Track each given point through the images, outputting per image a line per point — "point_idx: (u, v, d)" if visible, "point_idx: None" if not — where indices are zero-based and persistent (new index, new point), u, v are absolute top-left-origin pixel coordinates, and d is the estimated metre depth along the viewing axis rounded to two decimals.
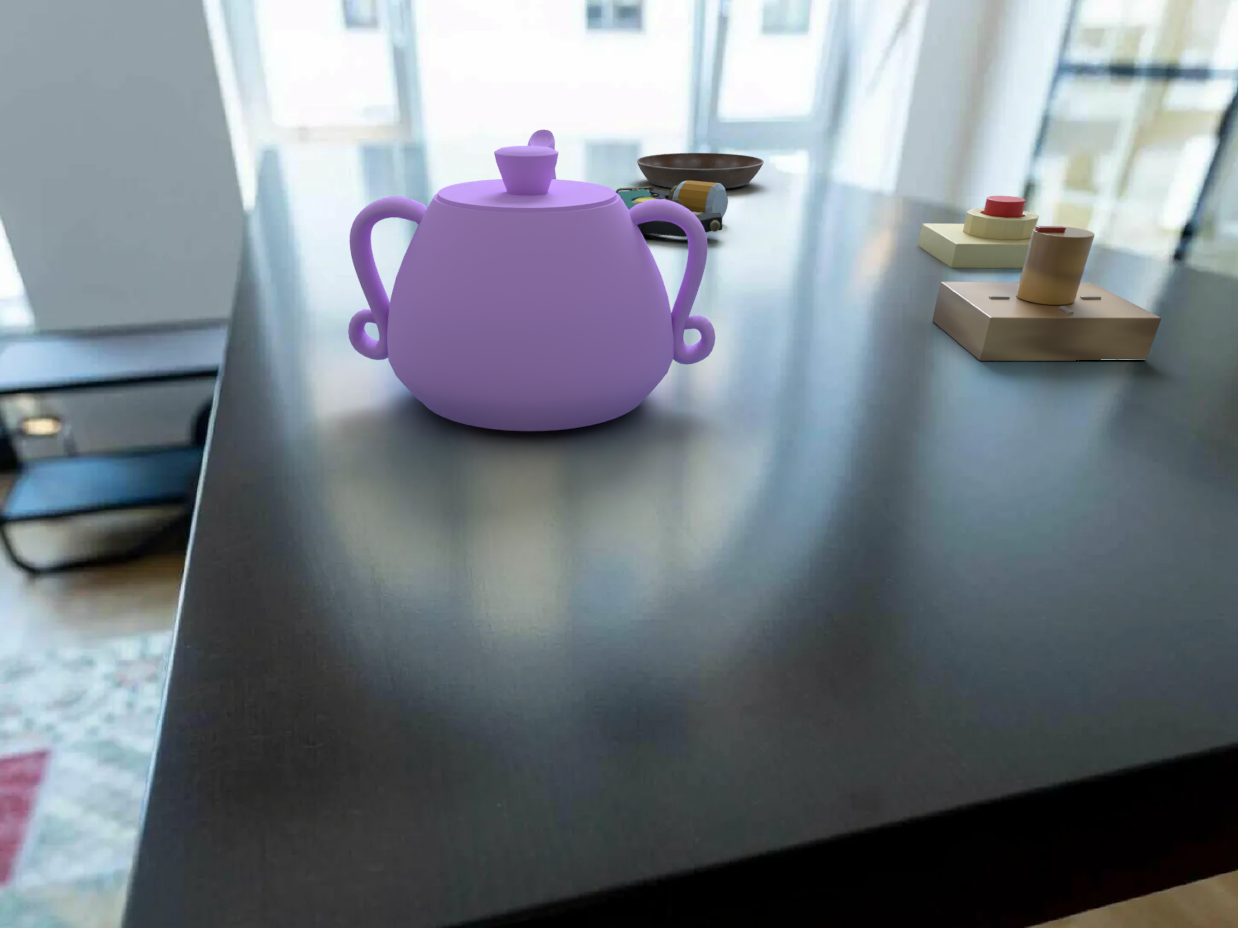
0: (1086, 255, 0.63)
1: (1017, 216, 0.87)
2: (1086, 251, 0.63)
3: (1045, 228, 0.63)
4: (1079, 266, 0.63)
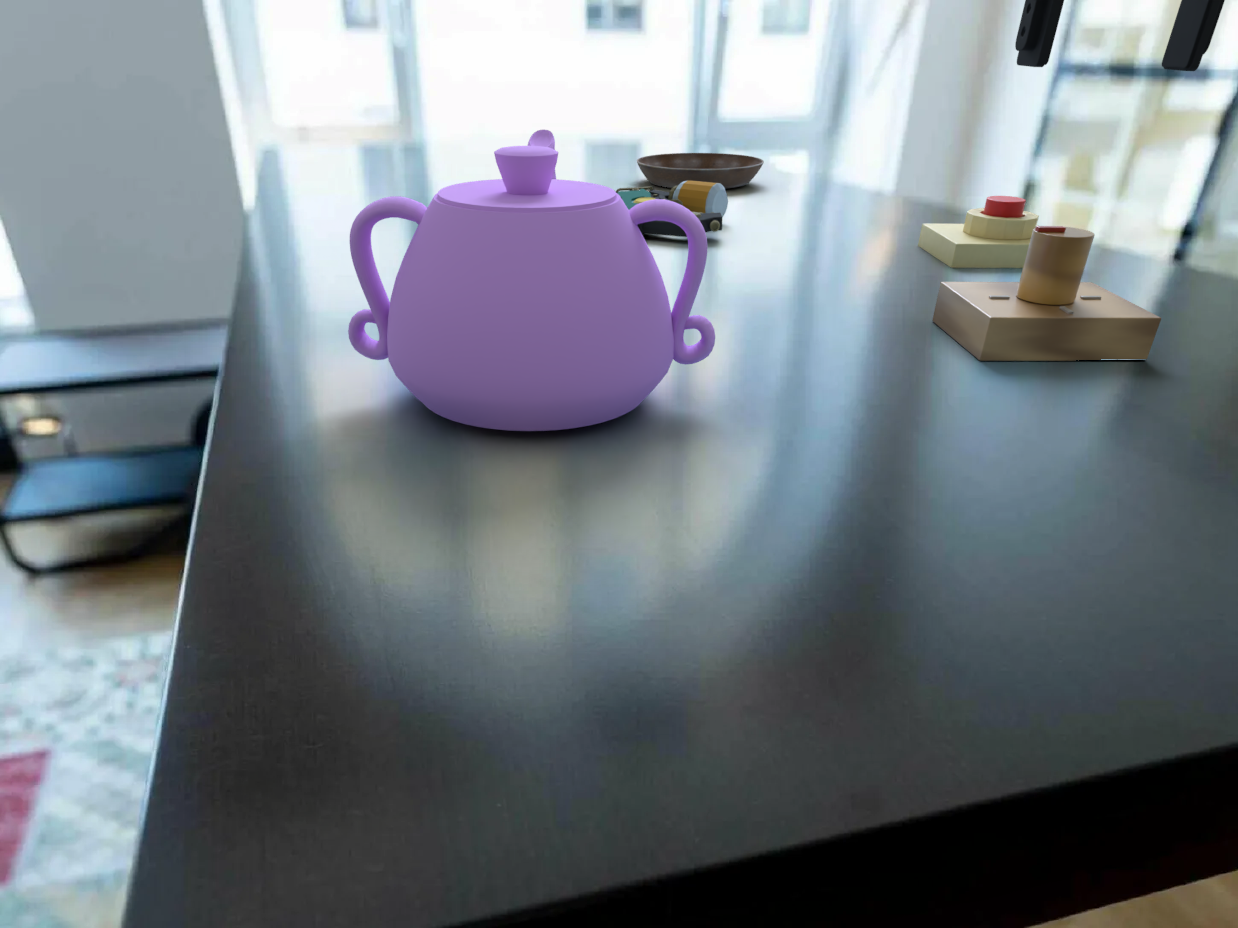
0: (1086, 255, 0.63)
1: (1017, 216, 0.87)
2: (1086, 251, 0.63)
3: (1045, 228, 0.63)
4: (1079, 266, 0.63)
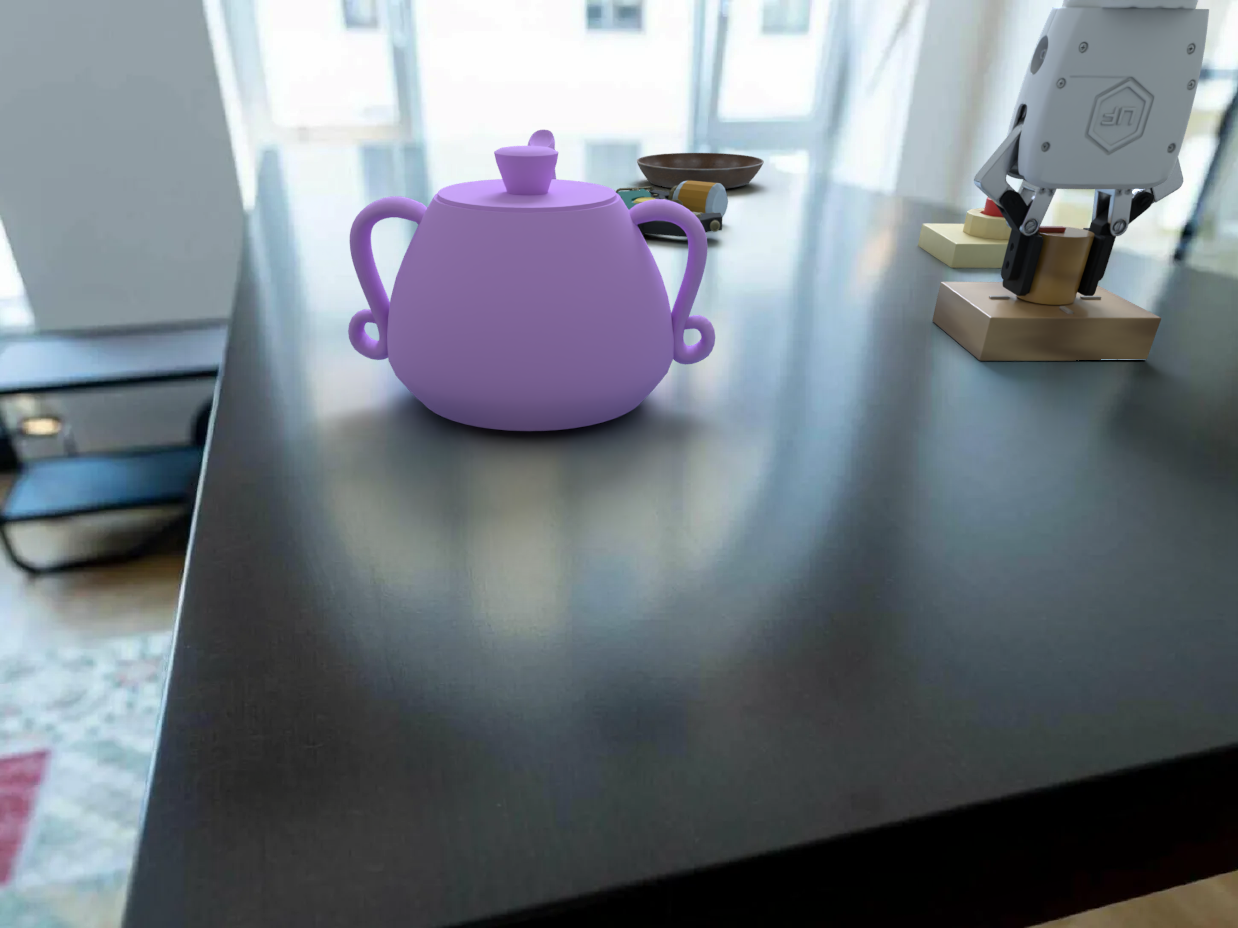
0: (1086, 255, 0.63)
1: None
2: (1086, 251, 0.63)
3: (1045, 228, 0.63)
4: (1079, 266, 0.63)
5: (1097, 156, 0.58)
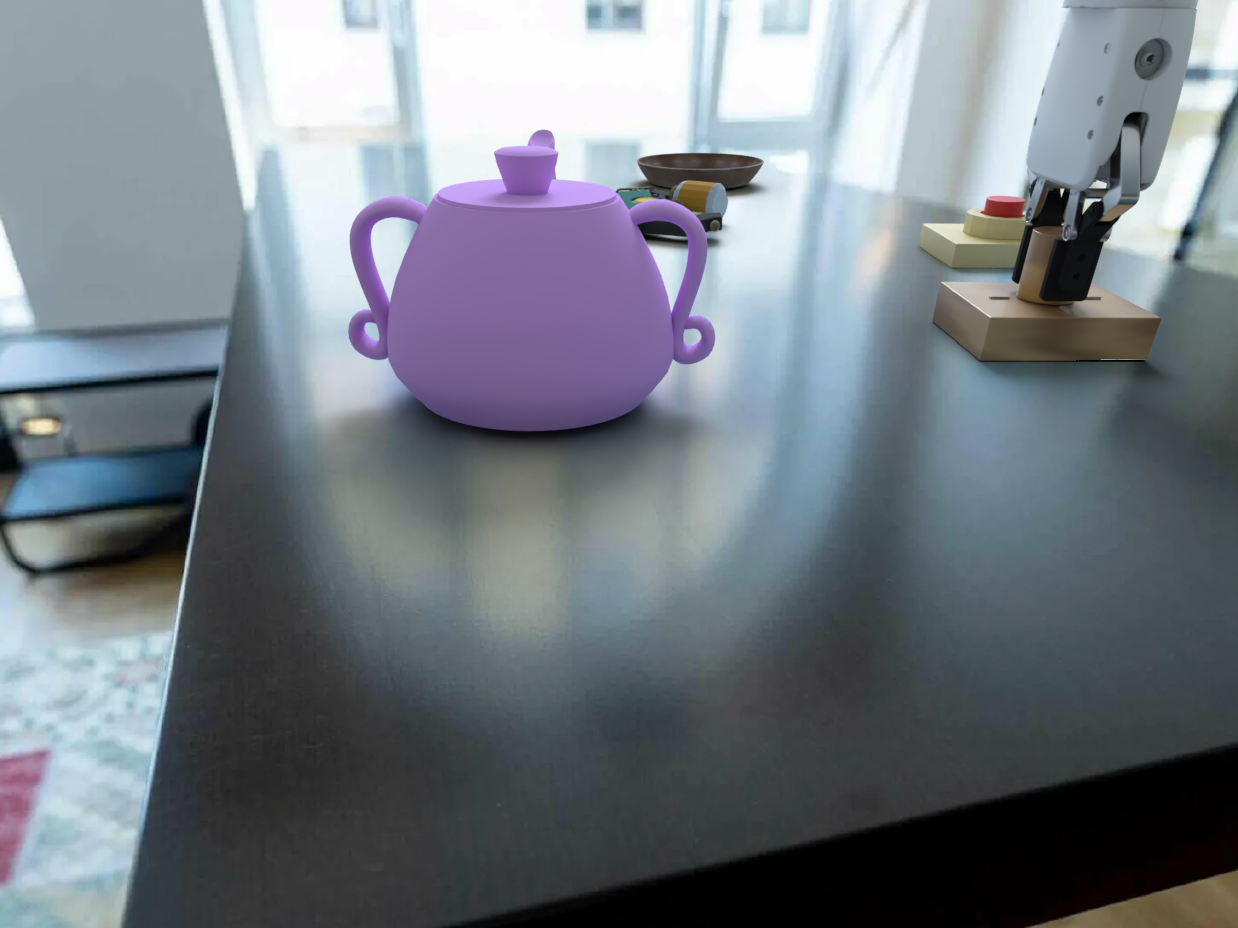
0: None
1: (1017, 216, 0.87)
2: None
3: None
4: None
5: None
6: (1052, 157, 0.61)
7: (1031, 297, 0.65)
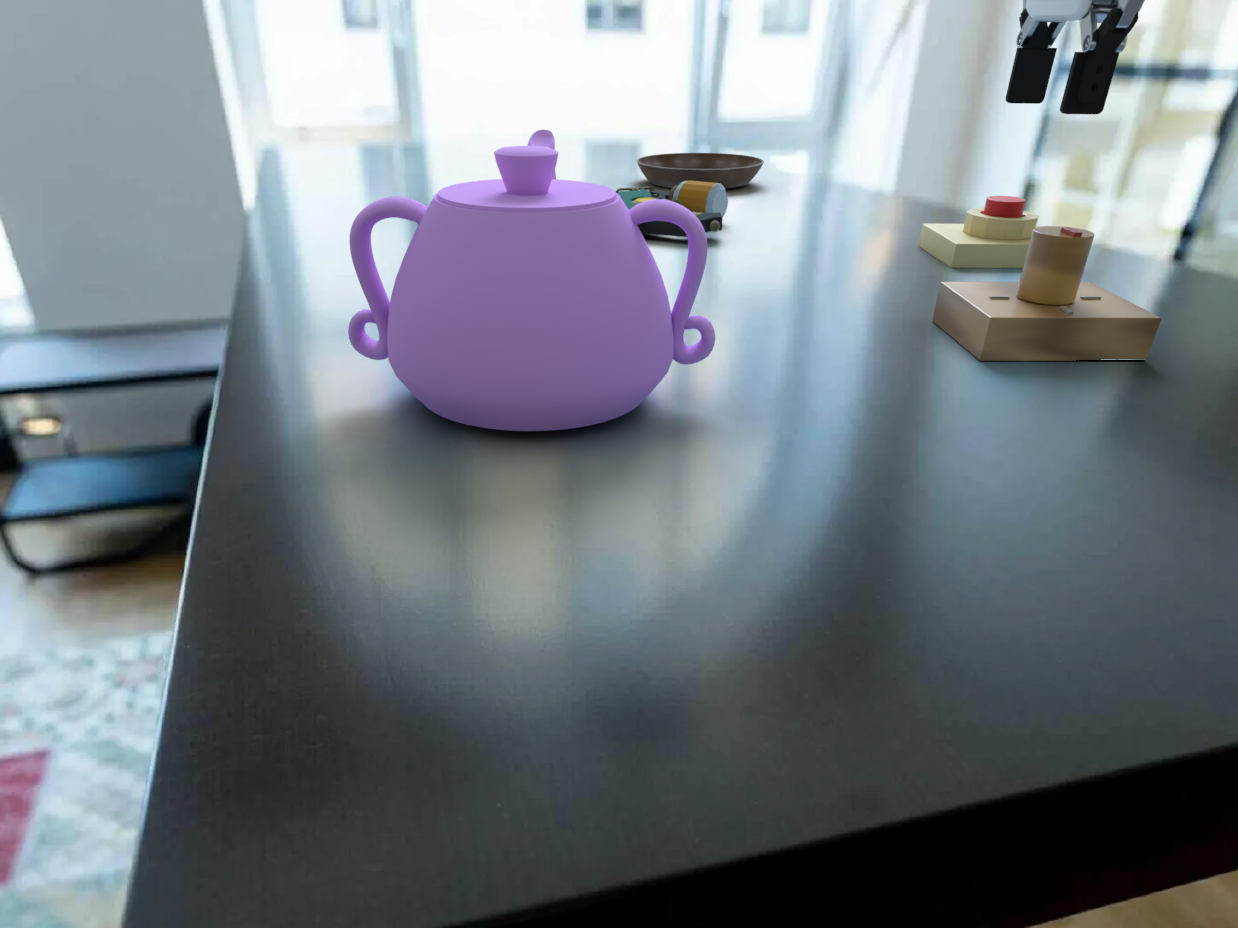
0: None
1: (1017, 216, 0.87)
2: None
3: (1079, 232, 0.62)
4: None
5: None
6: None
7: (1032, 297, 0.65)
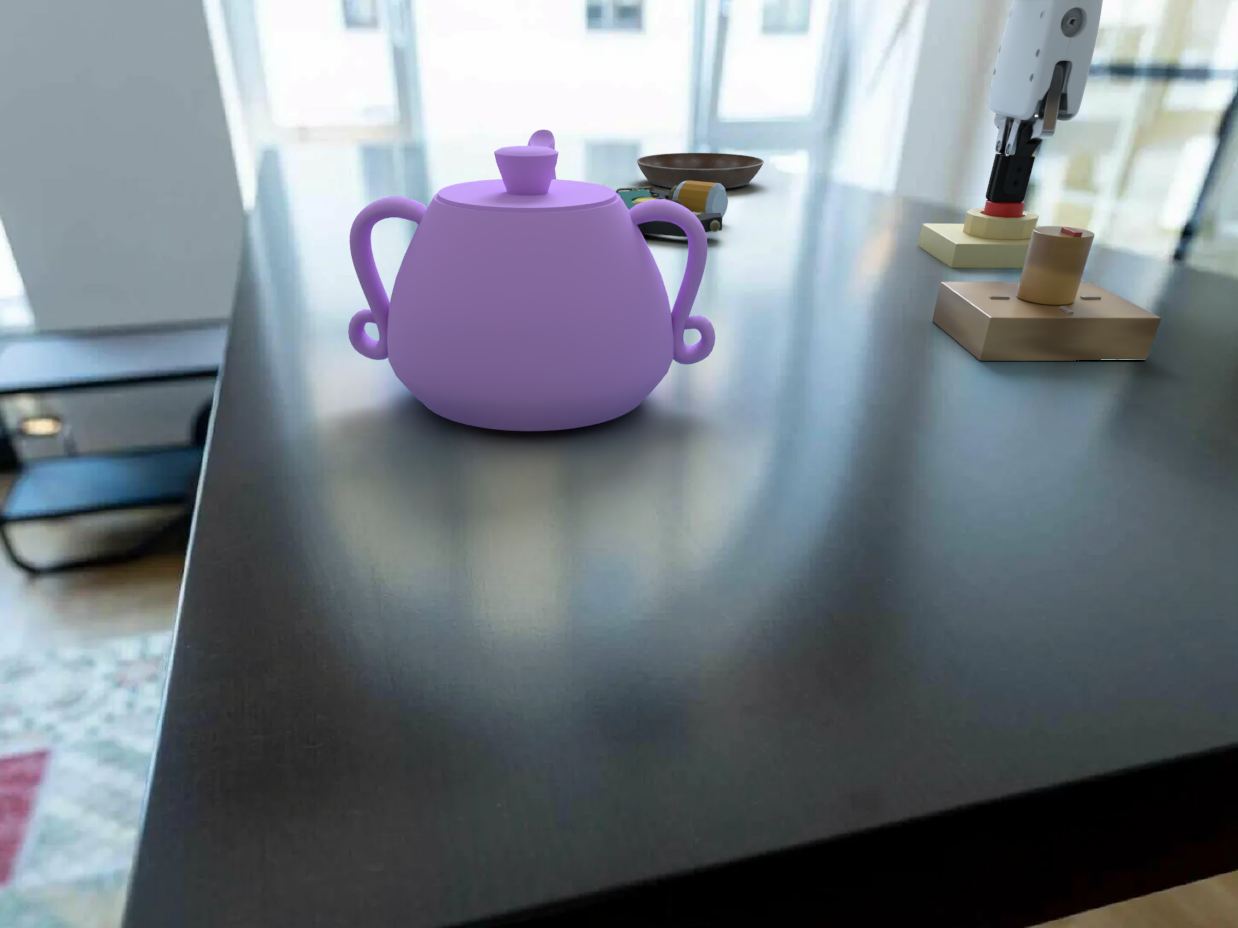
0: None
1: None
2: None
3: (1079, 232, 0.62)
4: None
5: None
6: (1006, 97, 0.83)
7: (1032, 297, 0.65)
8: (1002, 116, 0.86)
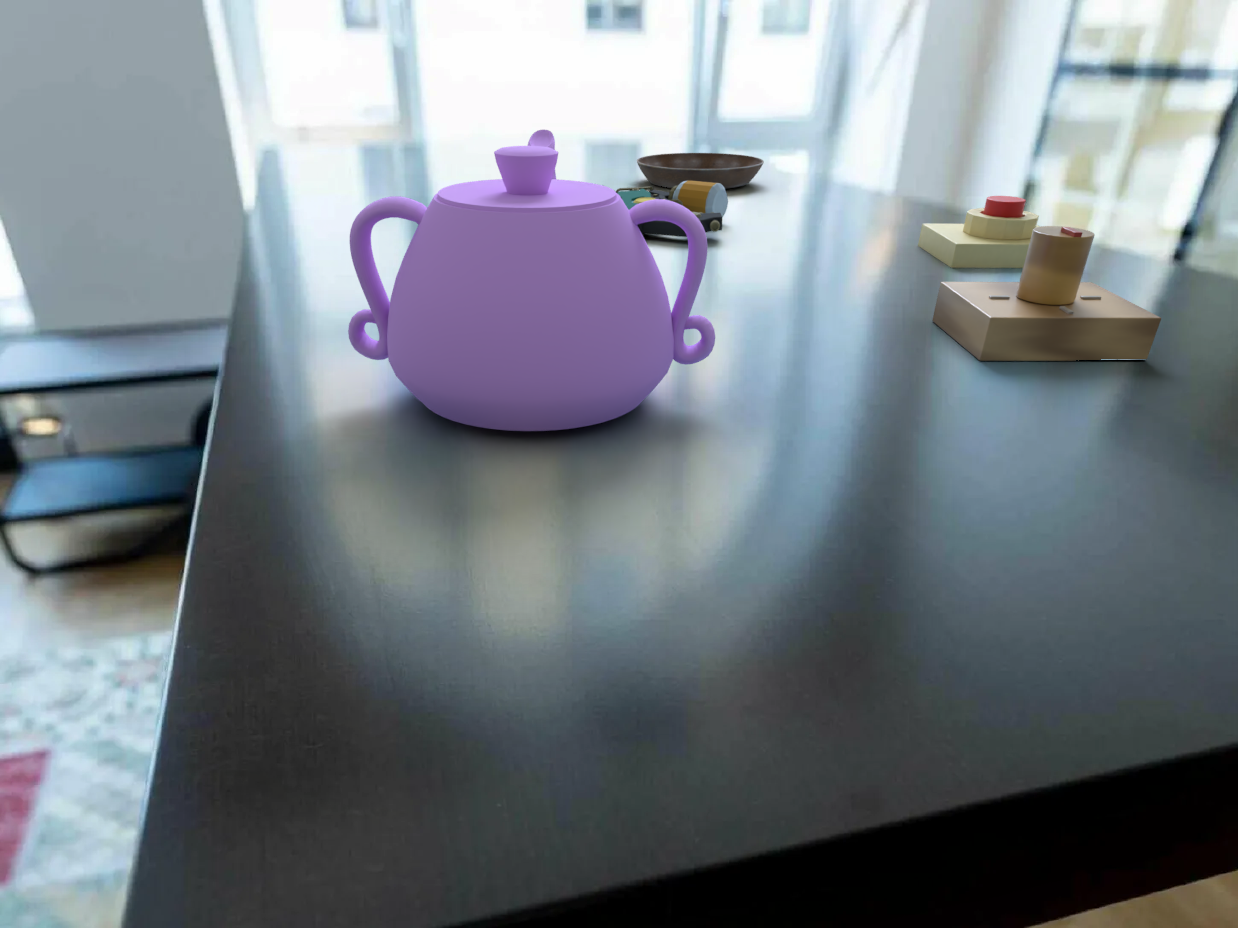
0: None
1: (1017, 216, 0.87)
2: None
3: (1079, 232, 0.62)
4: None
5: None
6: None
7: (1032, 297, 0.65)
8: None
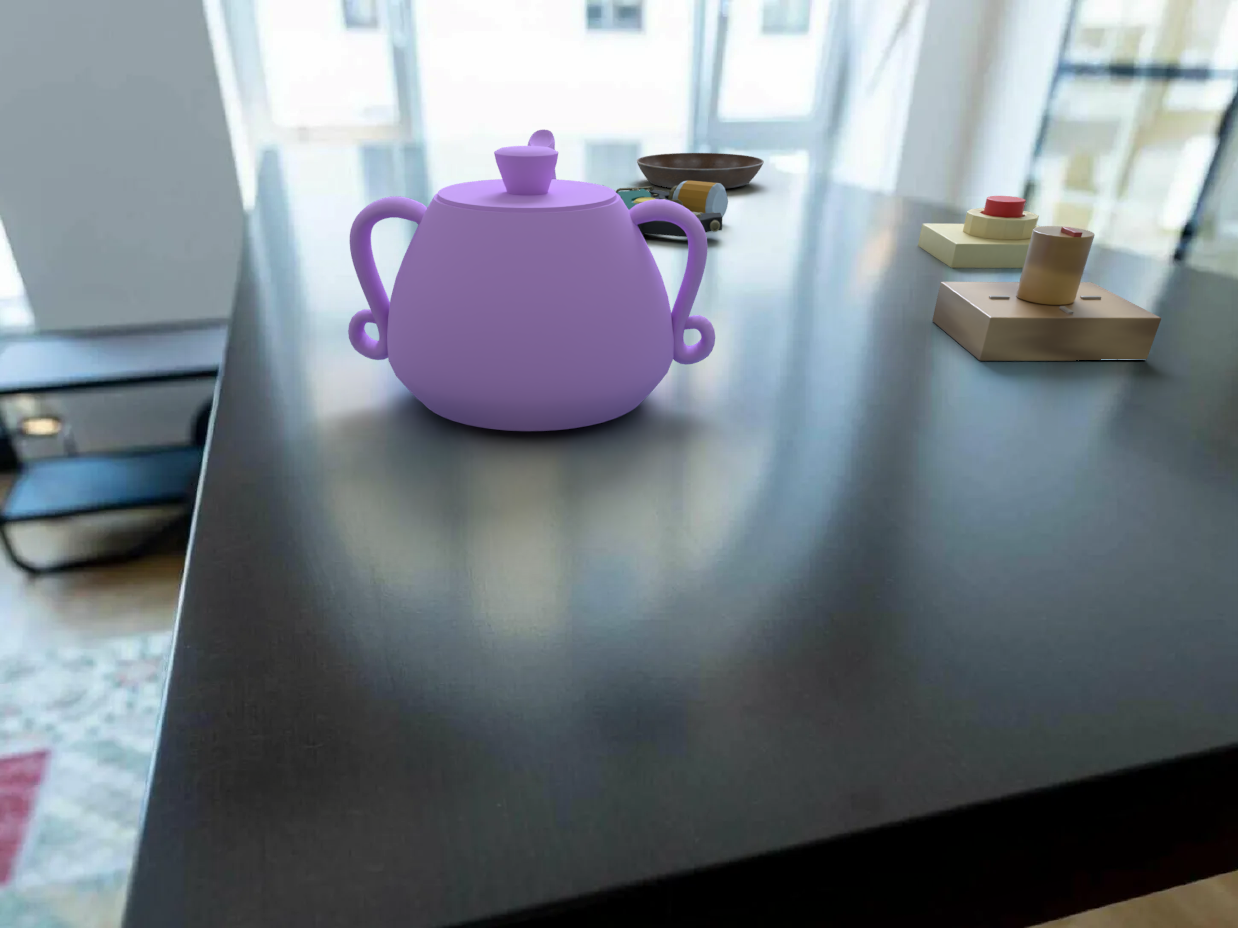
0: None
1: (1017, 216, 0.87)
2: None
3: (1079, 232, 0.62)
4: None
5: None
6: None
7: (1032, 297, 0.65)
8: None
